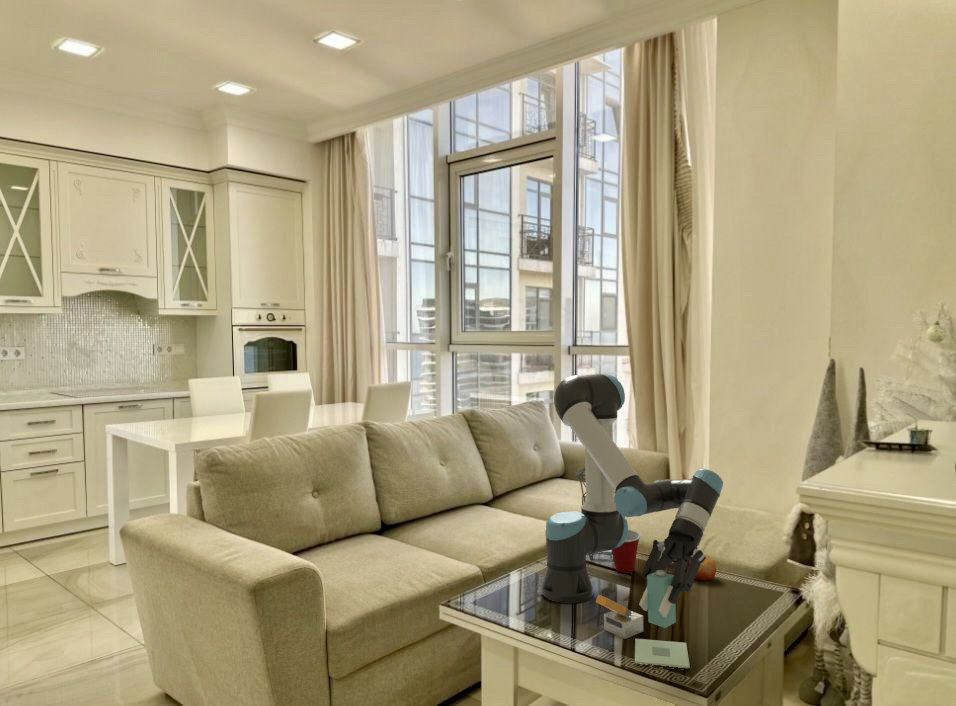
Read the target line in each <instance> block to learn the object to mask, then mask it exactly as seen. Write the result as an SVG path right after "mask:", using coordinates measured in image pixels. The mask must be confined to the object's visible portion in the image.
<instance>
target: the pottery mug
mask: <svg viewBox="0 0 956 706" xmlns="http://www.w3.org/2000/svg"><path fill="white" fill-rule="evenodd" d="M692 557H693V556H691V557H689V558H688V564H687V566H686V569H685V570H687V568H688V566H689V563H690V561H691V559H692ZM676 564H677V560H673V562H672V563H670V564H669V565H668V566H667V568H666V569H665V573H667V574H669V572H675V570H676Z"/></svg>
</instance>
